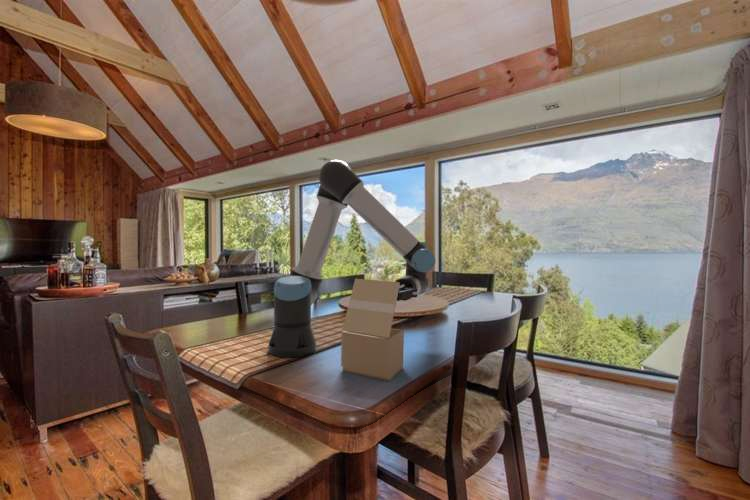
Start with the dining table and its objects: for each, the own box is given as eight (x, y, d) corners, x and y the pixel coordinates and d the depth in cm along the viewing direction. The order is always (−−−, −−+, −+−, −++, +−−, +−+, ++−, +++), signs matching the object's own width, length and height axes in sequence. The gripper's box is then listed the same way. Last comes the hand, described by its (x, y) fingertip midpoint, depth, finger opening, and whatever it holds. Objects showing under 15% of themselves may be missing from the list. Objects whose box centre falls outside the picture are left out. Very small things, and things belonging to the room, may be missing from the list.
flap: (343, 330, 94) (342, 329, 94) (356, 279, 100) (355, 278, 99) (389, 338, 88) (387, 337, 88) (400, 283, 94) (398, 282, 93)
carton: (340, 370, 95) (340, 331, 95) (357, 359, 104) (358, 323, 104) (389, 381, 89) (389, 339, 88) (403, 368, 98) (403, 330, 97)
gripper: (425, 300, 114) (399, 315, 93) (388, 297, 120) (355, 310, 98) (425, 278, 114) (399, 288, 92) (388, 275, 119) (356, 284, 98)
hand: (377, 299), depth 95 cm, fingers closed
